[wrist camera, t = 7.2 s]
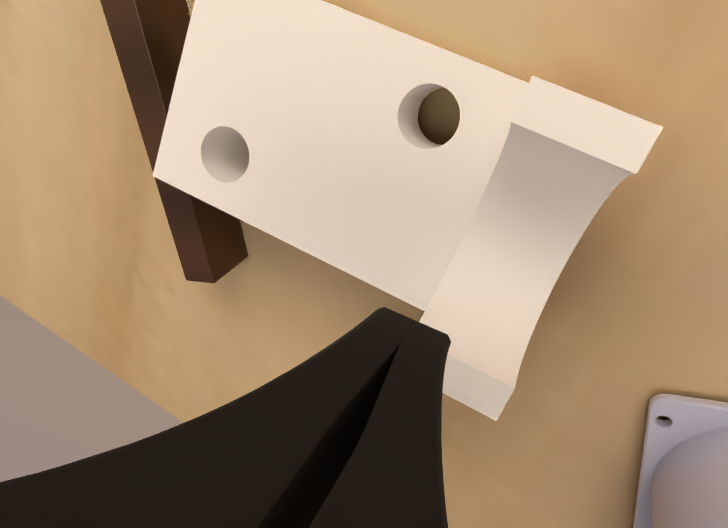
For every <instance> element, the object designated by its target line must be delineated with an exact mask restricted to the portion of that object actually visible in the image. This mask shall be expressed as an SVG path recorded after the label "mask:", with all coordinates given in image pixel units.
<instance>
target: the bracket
mask: <svg viewBox="0 0 728 528" xmlns="http://www.w3.org/2000/svg"><path fill="white" fill-rule="evenodd" d="M442 88H446V89H448V90H449V91H450V92H451V93H452V94H453V95H454V97H455V98H456V100H457V102H458V105H459V109H460V121H459V125H458V128H457V130H456V132H455V134H454V135H453V137H452V138H451V139H450V140H449V141H448V142H447V143H445V144H444V145H440V144H436V143H433V142H431V141H430V140H428V139H427V138H426V137H425V136H424V135H423V133H422V132H421V130H420V127H419V124H418V111H419V108H420V105H421V103H422V101H423V100H424V99H425V98H426V96H428V95H429V94H430V93H431V92H433V91H435V90H438V89H442ZM662 129H663V127H661V126H659V125H656V124H654V123H651V122H649V121H646V120H644V119H641V118H639V117H636V116H634V115H631V114H629V113H626V112H624V111H621V110H619V109H616V108H614V107H611V106H608V105H606V104H603V103H601V102H598V101H596V100H593V99H591V98H588V97H586V96H583V95H581V94H578V93H576V92H573V91H571V90H568V89H566V88H563V87H561V86H558V85H555V84H553V83H550V82H548V81H545V80H543V79H540V78H538V77H535V76H533V75H532V76H531V79H530V81H529V83H528V82H525V81H523V80H520V79H518V78H515V77H513V76H510V75H508V74H505V73H503V72H500V71H498V70H495V69H493V68H490V67H487V66H485V65H482V64H480V63H477V62H475V61H472V60H470V59H467V58H465V57H462V56H460V55H457V54H455V53H452V52H450V51H447V50H445V49H442V48H440V47H437V46H435V45H432V44H430V43H427V42H425V41H422V40H420V39H417V38H415V37H412V36H410V35H407V34H405V33H402V32H400V31H397V30H395V29H392V28H390V27H387V26H385V25H382V24H380V23H377V22H375V21H372V20H370V19H367V18H365V17H362V16H360V15H357V14H355V13H352V12H350V11H347V10H345V9H342V8H340V7H337V6H335V5H332V4H330V3H327V2H325V1H322V0H195V2H194V6H193V10H192V14H191V18H190V23H189V27H188V31H187V35H186V39H185V43H184V47H183V52H182V56H181V60H180V64H179V68H178V72H177V76H176V81H175V85H174V89H173V93H172V97H171V101H170V105H169V110H168V114H167V118H166V122H165V126H164V130H163V134H162V139H161V143H160V147H159V151H158V155H157V159H156V163H155V168H154V172H153V176H154V177H156V178H158V179H160V180H162V181H164V182H166V183H168V184H170V185H172V186H174V187H176V188H178V189H180V190H182V191H184V192H186V193H188V194H190V195H192V196H194V197H196V198H198V199H200V200H202V201H204V202H206V203H208V204H210V205H212V206H214V207H216V208H218V209H220V210H222V211H224V212H226V213H228V214H230V215H232V216H234V217H236V218H238V219H240V220H242V221H244V222H246V223H248V224H250V225H252V226H254V227H256V228H258V229H260V230H262V231H264V232H266V233H268V234H270V235H272V236H274V237H276V238H278V239H280V240H282V241H284V242H286V243H288V244H290V245H292V246H294V247H296V248H298V249H300V250H302V251H304V252H306V253H308V254H310V255H312V256H314V257H316V258H318V259H320V260H322V261H324V262H326V263H328V264H330V265H332V266H334V267H336V268H338V269H340V270H342V271H344V272H346V273H348V274H350V275H352V276H354V277H356V278H358V279H360V280H362V281H364V282H367V283H369V284H371V285H373V286H375V287H377V288H379V289H381V290H383V291H385V292H387V293H389V294H391V295H393V296H395V297H397V298H399V299H401V300H403V301H405V302H407V303H409V304H411V305H413V306H415V307H417V308H419V309H421V310H423V311H425V312H424V314H423V316H422V317H421V319H420V321H419V322H420V323H422V324H425V325H427V326H429V327H432V328H434V329H436V330H439V331H441V332H443V333H446V334H448V336H449V338H450V340H451V344H450V347H449V350H448V354H447V359H446V364H445V371H444V379H443V390H442V393H444V394H445V395H447V396H449V397H451V398H453V399H455V400H457V401H459V402H461V403H463V404H465V405H466V406H468V407H470V408H472V409H474V410H476V411H478V412H480V413H482V414H484V415H486V416H487V417H489V418H491V419H493V420H495V421H497V419H498V417H499V416H500V414H501V412H502V410H503V409H504V407H505V405H506V403H507V402H508V400H509V398H510V396H511V395H512V393H513V391H514V389H515V385H516V380H517V376H518V372H519V369H520V365H521V362H522V359H523V356H524V354H525V351H526V348H527V345H528V343H529V340H530V338H531V335H532V333H533V330H534V328H535V326H536V323H537V321H538V319H539V317H540V314H541V312H542V310H543V308H544V306H545V304H546V301H547V299H548V297H549V295H550V293H551V291H552V289H553V287H554V285H555V283H556V281H557V279H558V277H559V275H560V274H561V272H562V270H563V268H564V266H565V264H566V262H567V261H568V259H569V257H570V255H571V254H572V252H573V250H574V248H575V247H576V245H577V243H578V241H579V240H580V238H581V236H582V235H583V233H584V232H585V230H586V228H587V227H588V225H589V224H590V222H591V221H592V219H593V218H594V216H595V215H596V213H597V212H598V210H599V209H600V207H601V206H602V205H603V203H604V202H605V201H606V199H607V198H608V197H609V195H610V194H611V193H612V192H613V190H614V189H615V188H616V187H617V186H618V185H619V184H620V183H621V182H622V181H623V180H624V179H625V178H626V177H628V176H629V175H631V174H637V173H638V171H639V169H640V167H641V166H642V164H643V162H644V160H645V159H646V157H647V155H648V153H649V152H650V150H651V148H652V146H653V144H654V143H655V141H656V139H657V137H658V136H659V134H660V132H661V130H662Z"/></svg>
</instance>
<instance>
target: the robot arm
mask: <svg viewBox="0 0 728 528" xmlns="http://www.w3.org/2000/svg"><path fill="white" fill-rule="evenodd" d="M450 344H451V340H450V338H449V336H448V334H446V333H443V332H441V331H439V330H436V329H434V328H432V327H429V326H427V325H425V324H422V323H420V322H418V321H415V320H413V319H411V318H408V317H406V316H404V315H402V314H399V313H397V312H395V311H392V310H390V309H388V308H385V307H383V308H380V309H377V310H376V311H375V312H373V313H372V314H371V315H370V316H369V317H367V318H366V319H365V320H364V321H362V322H361V323H360V324H359V325H357V326H356V327H355V328H353V329H352V330H351V331H349V332H348V333H346V334H345V335H344V336H342V337H341V338H339V339H338V340H337V341H335V342H334V343H332V344H331V345H329V346H328V347H326V348H325V349H323V350H321V351H320V352H318V353H317V354H315V355H314V356H312V357H311V358H309V359H308V360H306V361H305V362H303V363H301V364H300V365H298V366H296V367H295V368H293V369H291V370H290V371H288V372H286V373H284V374H282V375H281V376H279V377H277V378H275V379H274V380H272V381H270V382H268V383H267V384H265V385H263V386H261V387H260V388H258V389H256V390H254V391H252V392H250V393H248V394H246V395H244V396H242V397H240V398H238V399H236V400H234V401H232V402H230V403H228V404H226V405H224V406H221V407H219V408H217V409H215V410H213V411H211V412H208V413H206V414H204V415H202V416H200V417H197V418H195V419H192V420H190V421H187V422H185V423H183V424H180V425H178V426H175V427H173V428H170V429H168V430H165V431H163V432H160V433H158V434H155V435H153V436H150V437H147V438H145V439H142V440H139V441H137V442H134V443H131V444H128V445H125V446H122V447H119V448H116V449H113V450H110V451H106V452H104V453H100V454H97V455H94V456H91V457H88V458H85V459H82V460H78V461H76V462H72V463H69V464H66V465H63V466H60V467H56V468H53V469H49V470H46V471H42V472H39V473H35V474H31V475H27V476H23V477H19V478H15V479H11V480H7V481H3V482H0V528H448V523H447V515H446V506H445V495H444V483H443V467H442V445H441V413H442V390H443V379H444V371H445V364H446V359H447V354H448V350H449V347H450ZM659 416H666V417H669V418H670V419H668V420H661V419H658V418H657V417H659ZM633 528H728V402H721V401H714V400H707V399H700V398H694V397H687V396H680V395H673V394H664V393H660V394H657V395H654V396H653V397H652V398H651V399H650V401H649V407H648V415H647V422H646V430H645V438H644V445H643V453H642V460H641V468H640V476H639V483H638V491H637V499H636V506H635V514H634V522H633Z"/></svg>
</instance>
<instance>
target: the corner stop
mask: <svg viewBox="0 0 728 528" xmlns="http://www.w3.org/2000/svg"><path fill="white" fill-rule="evenodd" d="M100 1H101V4H102V7H103V11H104V14H105V17H106V20H107V24H108V27H109V30H110V33H111V37H112V40H113V43H114V46H115V50H116V53H117V56H118V59H119V63H120V66H121V69H122V73H123V76H124V79H125V82H126V86H127V89H128V92H129V95H130V99H131V102H132V105H133V108H134V112H135V115H136V118H137V121H138V125H139V128H140V131H141V134H142V138H143V141H144V144H145V147H146V151H147V154H148V157H149V161H150V164H151V167H152V170H153V172H154V168H155V163H156V159H157V155H158V151H159V147H160V143H161V139H162V134H163V130H164V126H165V122H166V118H167V114H168V110H169V105H170V101H171V97H172V93H173V89H174V85H175V81H176V76H177V72H178V68H179V64H180V60H181V56H182V52H183V47H184V43H185V39H186V35H187V31H188V27H189V23H190V19H189V15H188V11H187V7H186V3H185V0H100ZM155 180H156V183H157V187H158V190H159V193H160V196H161V200H162V203H163V206H164V209H165V213H166V216H167V219H168V222H169V226H170V229H171V232H172V235H173V239H174V242H175V245H176V248H177V252H178V255H179V258H180V262H181V265H182V268H183V271H184V275H185V278H186V280H188V281H197V282H207V283H215V282H216V281H218V280H219V279H220V278H221V277H223V276H224V275H225V274H226V273H228V272H229V271H230V270H231V269H233V268H234V267H235V266H236V265H238V264H239V263H240V262H242V261H243V260H244V259H245V258H247V252H246V248H245V244H244V239H243V235H242V231H241V227H240V223H239V219H238V218H236V217H234V216H232V215H230V214H228V213H226V212H224V211H222V210H220V209H218V208H216V207H214V206H212V205H210V204H208V203H206V202H204V201H202V200H200V199H198V198H196V197H194V196H192V195H190V194H188V193H186V192H184V191H182V190H180V189H178V188H176V187H174V186H172V185H170V184H168V183H166V182H164V181H162V180H160V179H158V178H156V177H155Z"/></svg>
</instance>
